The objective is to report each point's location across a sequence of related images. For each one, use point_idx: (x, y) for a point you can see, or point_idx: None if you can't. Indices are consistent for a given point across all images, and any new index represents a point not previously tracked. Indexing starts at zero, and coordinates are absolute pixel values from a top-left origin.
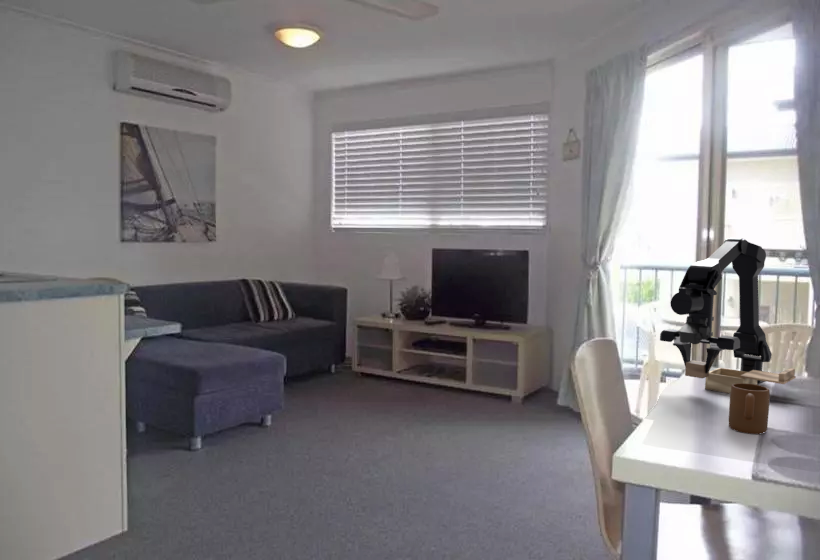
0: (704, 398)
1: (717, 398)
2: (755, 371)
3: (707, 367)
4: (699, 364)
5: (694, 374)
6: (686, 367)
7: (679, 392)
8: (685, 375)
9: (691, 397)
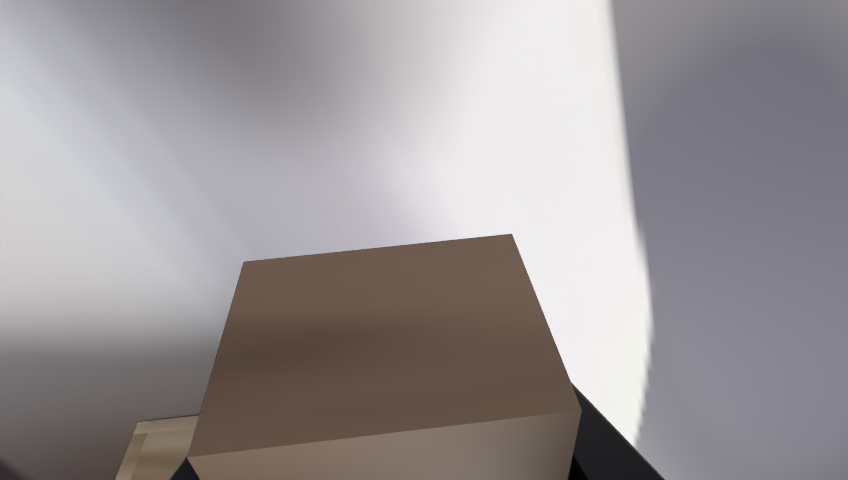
0: (236, 115)
1: (174, 219)
2: None
3: (194, 471)
4: (281, 449)
5: (372, 276)
6: (531, 330)
7: (525, 150)
8: (506, 238)
9: (342, 37)
